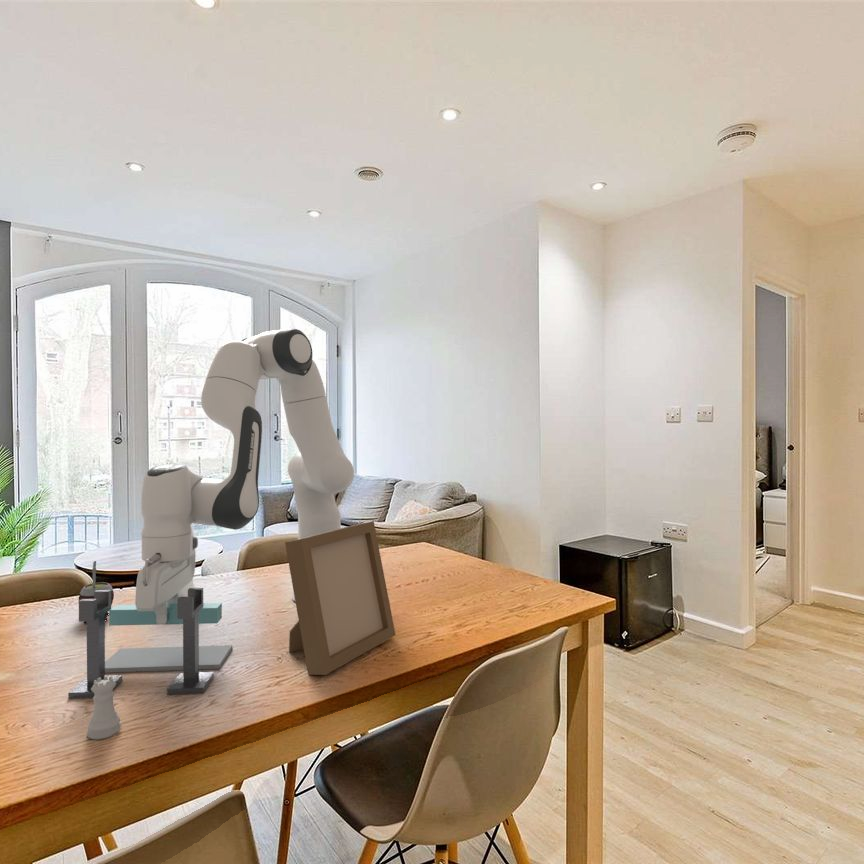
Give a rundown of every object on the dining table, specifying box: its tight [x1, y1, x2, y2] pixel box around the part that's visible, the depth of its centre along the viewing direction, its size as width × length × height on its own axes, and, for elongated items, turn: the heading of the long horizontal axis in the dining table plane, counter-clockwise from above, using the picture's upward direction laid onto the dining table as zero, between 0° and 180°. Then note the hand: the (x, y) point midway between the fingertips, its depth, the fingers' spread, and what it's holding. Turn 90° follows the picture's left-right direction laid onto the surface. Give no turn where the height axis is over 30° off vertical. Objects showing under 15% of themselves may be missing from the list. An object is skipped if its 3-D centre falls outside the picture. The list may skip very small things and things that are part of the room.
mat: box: [105, 644, 233, 674], centre depth 108 cm, size 22×9×1 cm, turn 95°
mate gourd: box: [78, 560, 115, 624], centre depth 130 cm, size 8×8×15 cm
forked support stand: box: [67, 587, 215, 699], centre depth 97 cm, size 22×6×16 cm, turn 95°
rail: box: [108, 602, 223, 627], centre depth 108 cm, size 20×3×3 cm, turn 95°
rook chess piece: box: [86, 675, 122, 741], centre depth 83 cm, size 4×4×8 cm
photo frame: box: [284, 520, 396, 676], centre depth 113 cm, size 15×22×25 cm
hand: (167, 618), depth 108 cm, fingers closed on rail, 3 cm apart
